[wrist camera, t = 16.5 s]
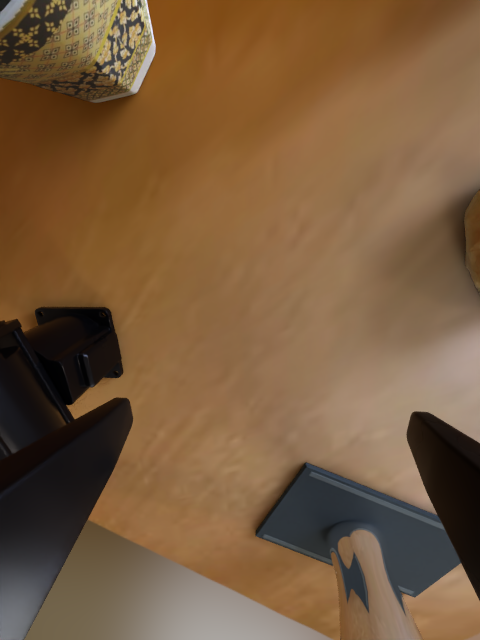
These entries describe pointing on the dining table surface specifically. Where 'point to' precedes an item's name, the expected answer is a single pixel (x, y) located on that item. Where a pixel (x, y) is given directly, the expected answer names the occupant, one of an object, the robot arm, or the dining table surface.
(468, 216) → the pastry
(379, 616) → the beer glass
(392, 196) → the dining table surface
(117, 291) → the dining table surface
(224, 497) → the dining table surface
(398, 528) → the mat
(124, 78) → the ceramic cup
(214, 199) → the dining table surface
